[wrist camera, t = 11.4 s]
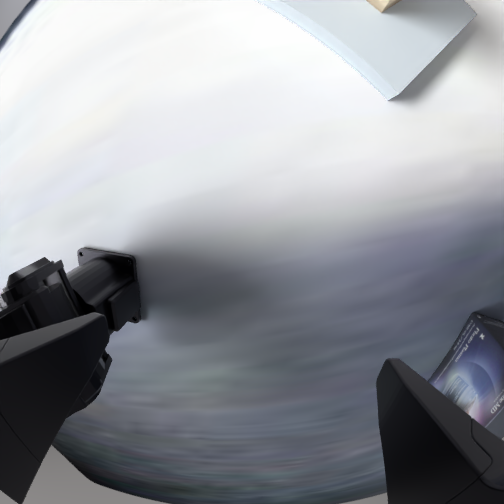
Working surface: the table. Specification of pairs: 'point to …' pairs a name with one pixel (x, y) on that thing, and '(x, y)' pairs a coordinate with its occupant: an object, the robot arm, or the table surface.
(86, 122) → the table surface
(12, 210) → the table surface
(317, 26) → the grey-blue block
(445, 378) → the small box
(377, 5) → the birch block
